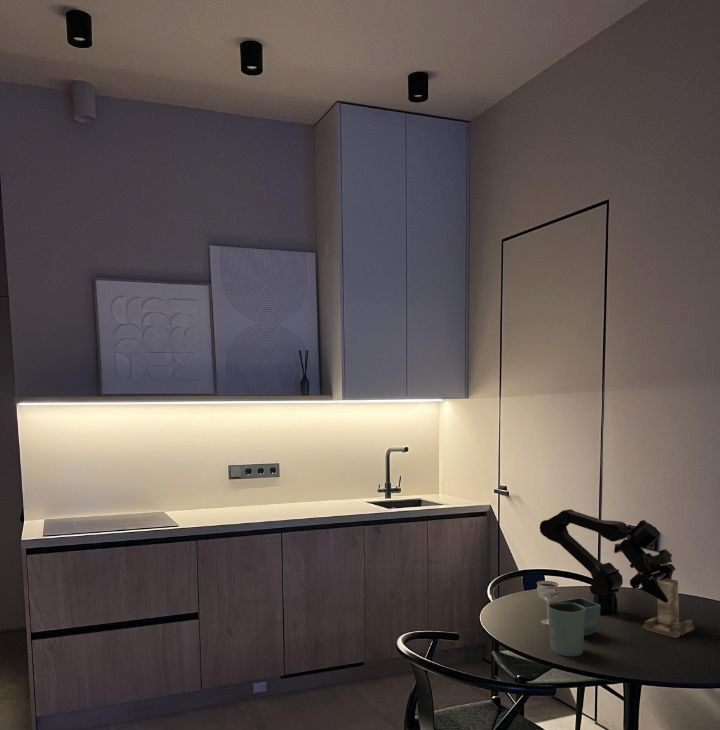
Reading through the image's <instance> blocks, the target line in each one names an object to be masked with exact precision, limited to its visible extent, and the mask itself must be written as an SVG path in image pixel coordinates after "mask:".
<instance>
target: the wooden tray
mask: <svg viewBox="0 0 720 730" xmlns="http://www.w3.org/2000/svg"><path fill="white" fill-rule="evenodd" d="M644 629H646V630H645V631H648V630H649V632H652V631H653V632H652V633H655V632H656V633H657V634H659V633H660V634H659V635H663V634H664V635H663V636H666V635H667V637H670V636H671V638H673V637H674V639H677V638H679V637H681V636H683V635H686V634H687V632H688V633H690V632H692V631H694V630H695V629H696V628H695V625H693V620H692V619H687V620H684V621H682V622H681V621H680V622H679V621H677V622H675V623H672V624H670V625H669V624H665V623H661V622H658V615H656V616H654V617H652V618H649V619H647V620H644V624H643V626H642V630H644ZM689 631H690V632H689ZM656 633H655V634H656ZM685 633H686V634H685ZM680 635H681V636H680ZM676 637H677V638H676Z"/></svg>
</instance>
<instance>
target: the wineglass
mask: <svg viewBox="0 0 720 730" xmlns="http://www.w3.org/2000/svg"><path fill="white" fill-rule="evenodd" d="M536 585H537V587H536V593H537V595H538V596H539V597H540V599H542V600H544V601H545V602H546V612H547V613H546V614H547V615H546V616H547V619H543V620H540V621H541V622H542V623H543V624H542V623H541V624H542V625H545V624H548V625H547V626H549V617H548V607H547V605H548V604H549V603H552V601H554V600H555V599H557V598H558V596H559V593H560V589H559V582H556V581H551V580H539V581H537V582H536Z"/></svg>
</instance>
